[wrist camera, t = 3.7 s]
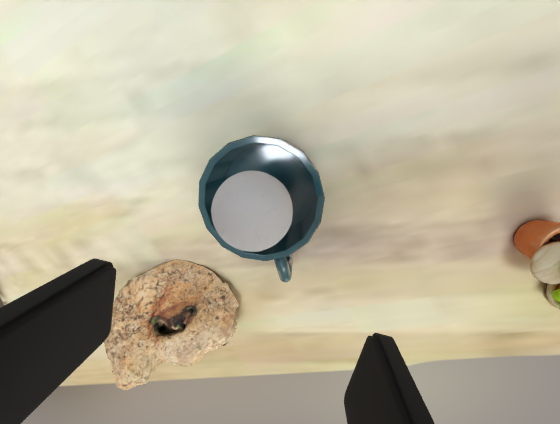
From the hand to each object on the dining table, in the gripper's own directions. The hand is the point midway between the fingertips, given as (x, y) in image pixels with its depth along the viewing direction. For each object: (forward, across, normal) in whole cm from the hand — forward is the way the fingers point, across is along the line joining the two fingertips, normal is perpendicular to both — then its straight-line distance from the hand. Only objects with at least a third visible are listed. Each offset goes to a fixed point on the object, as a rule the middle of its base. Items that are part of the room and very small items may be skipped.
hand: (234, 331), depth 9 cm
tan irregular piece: (+26, +11, +19) cm, 35 cm away
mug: (+26, +1, +1) cm, 26 cm away
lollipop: (+26, +2, 0) cm, 26 cm away
